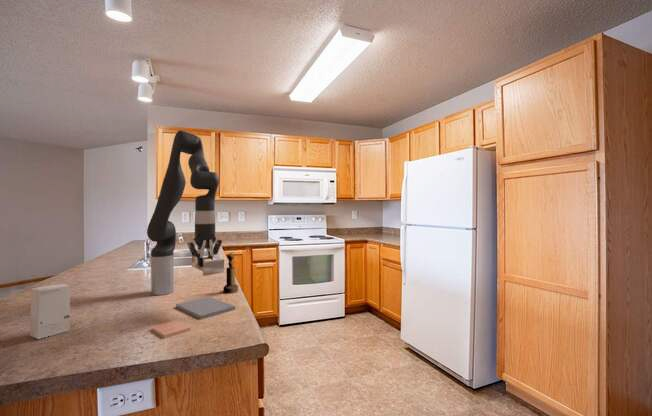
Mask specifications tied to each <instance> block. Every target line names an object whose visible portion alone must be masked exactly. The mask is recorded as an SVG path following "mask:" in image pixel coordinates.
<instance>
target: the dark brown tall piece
mask: <svg viewBox="0 0 652 416" xmlns="http://www.w3.org/2000/svg"><path fill="white" fill-rule="evenodd" d="M234 258H235V254H234V253H233V252H229V253H227V259H228V263H227V264H228V267H226V285H223V293H225V294H233V293H237V292H238V291H239V285H237V284H236V267H234V261H233V260H234Z"/></svg>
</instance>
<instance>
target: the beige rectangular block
mask: <svg viewBox="0 0 652 416" xmlns="http://www.w3.org/2000/svg"><path fill="white" fill-rule="evenodd" d="M202 258H203V267H199V266H198V258H197V257H195V256H192V255H191V267H192V268H195V269H197V270H199V271H201V272H202V276H204V277H207V276H212V275H216V274H223V273H225V259H224V258H222V259H215V260H214V259H213V260H212V259H209V258H207V256H204V255H203V257H202Z"/></svg>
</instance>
